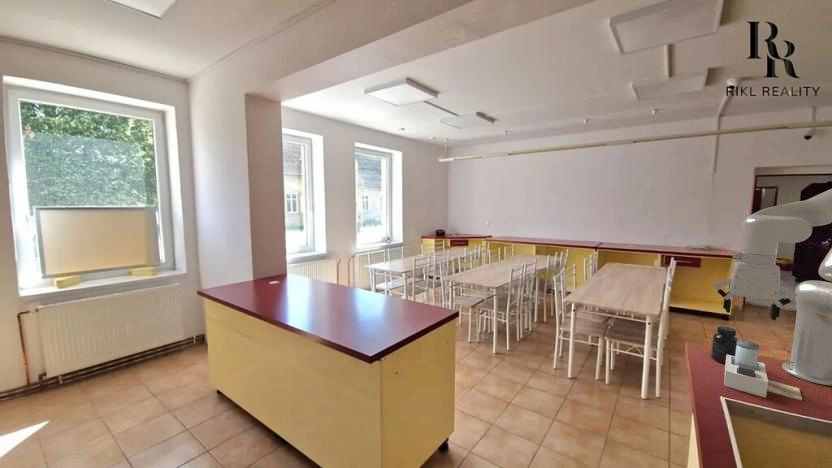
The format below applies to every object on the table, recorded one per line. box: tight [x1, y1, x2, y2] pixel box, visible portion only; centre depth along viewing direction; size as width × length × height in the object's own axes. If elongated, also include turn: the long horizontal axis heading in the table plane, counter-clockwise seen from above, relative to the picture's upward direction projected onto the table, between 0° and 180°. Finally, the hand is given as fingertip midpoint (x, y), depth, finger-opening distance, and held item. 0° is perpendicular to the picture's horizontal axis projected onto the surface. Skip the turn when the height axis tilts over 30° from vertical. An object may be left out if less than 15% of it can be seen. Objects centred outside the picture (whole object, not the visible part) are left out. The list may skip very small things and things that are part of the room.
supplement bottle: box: [710, 325, 739, 365], centre depth 117 cm, size 7×7×12 cm
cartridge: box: [734, 339, 760, 370], centre depth 106 cm, size 5×5×12 cm
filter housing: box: [723, 354, 769, 399], centre depth 105 cm, size 14×9×5 cm, turn 136°
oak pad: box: [767, 379, 803, 401], centre depth 100 cm, size 7×7×1 cm
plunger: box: [738, 363, 755, 377], centre depth 101 cm, size 3×3×4 cm
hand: (749, 315), depth 98 cm, fingers open, 9 cm apart
